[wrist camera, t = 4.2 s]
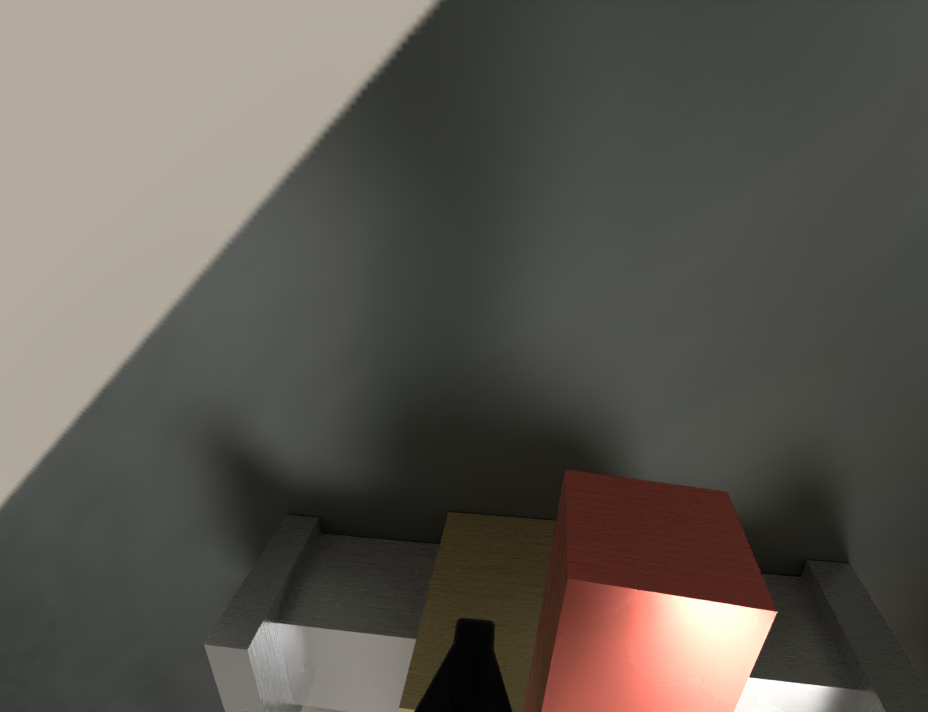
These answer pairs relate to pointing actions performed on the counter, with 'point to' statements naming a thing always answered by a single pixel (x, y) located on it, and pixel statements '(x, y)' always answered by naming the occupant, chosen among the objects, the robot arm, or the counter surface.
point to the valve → (502, 624)
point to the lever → (646, 601)
